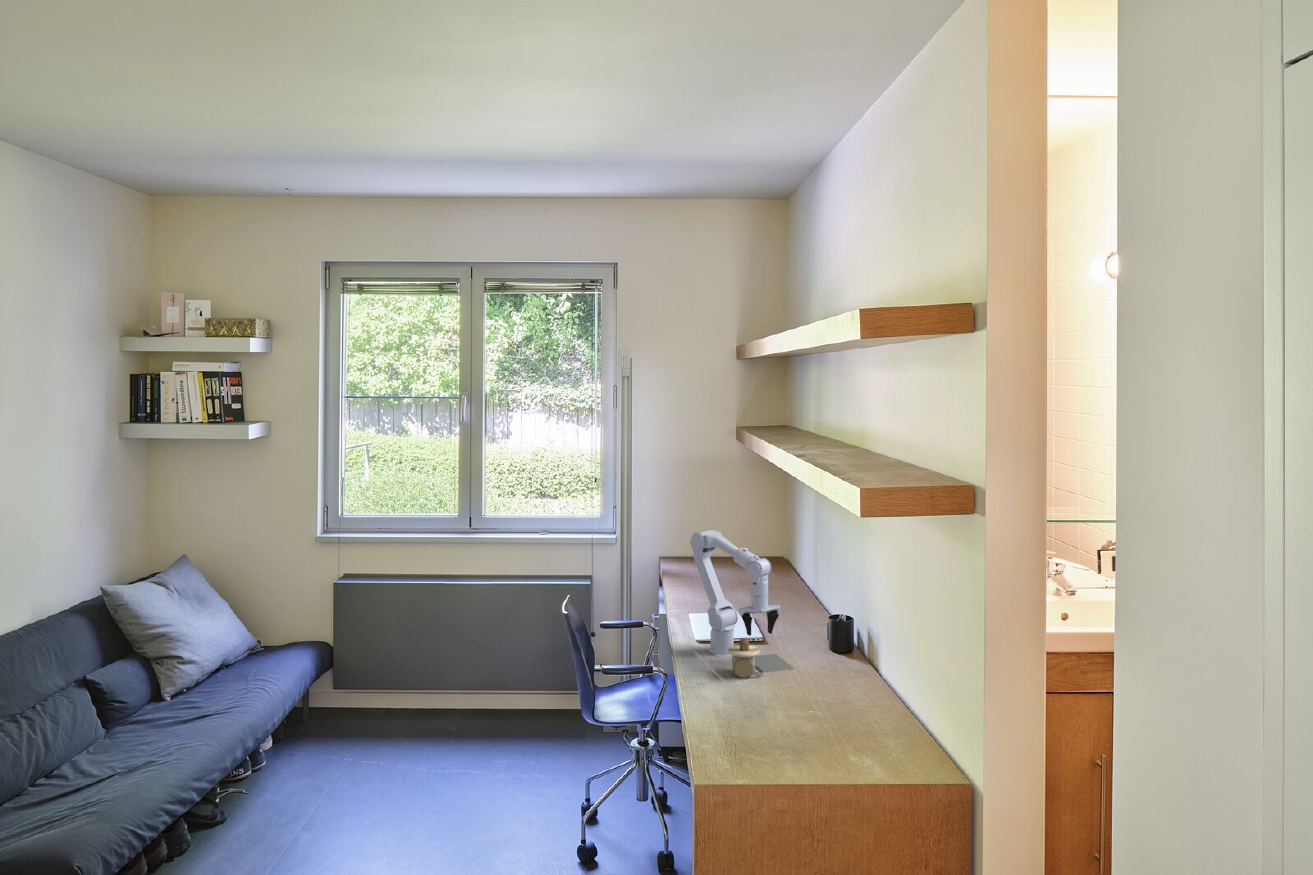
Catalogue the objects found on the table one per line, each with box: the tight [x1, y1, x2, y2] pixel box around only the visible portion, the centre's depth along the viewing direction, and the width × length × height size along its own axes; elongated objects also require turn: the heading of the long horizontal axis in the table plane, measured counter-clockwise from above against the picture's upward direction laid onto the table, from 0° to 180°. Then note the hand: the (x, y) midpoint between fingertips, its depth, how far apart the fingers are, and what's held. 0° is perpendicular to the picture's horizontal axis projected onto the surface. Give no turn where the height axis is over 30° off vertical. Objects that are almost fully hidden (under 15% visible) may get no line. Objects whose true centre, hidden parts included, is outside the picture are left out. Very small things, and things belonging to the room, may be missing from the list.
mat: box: [754, 653, 796, 673], centre depth 279 cm, size 16×12×1 cm
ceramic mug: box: [731, 655, 765, 679], centre depth 268 cm, size 11×8×8 cm
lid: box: [728, 637, 761, 657], centre depth 268 cm, size 10×10×4 cm
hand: (759, 633), depth 279 cm, fingers open, 7 cm apart
